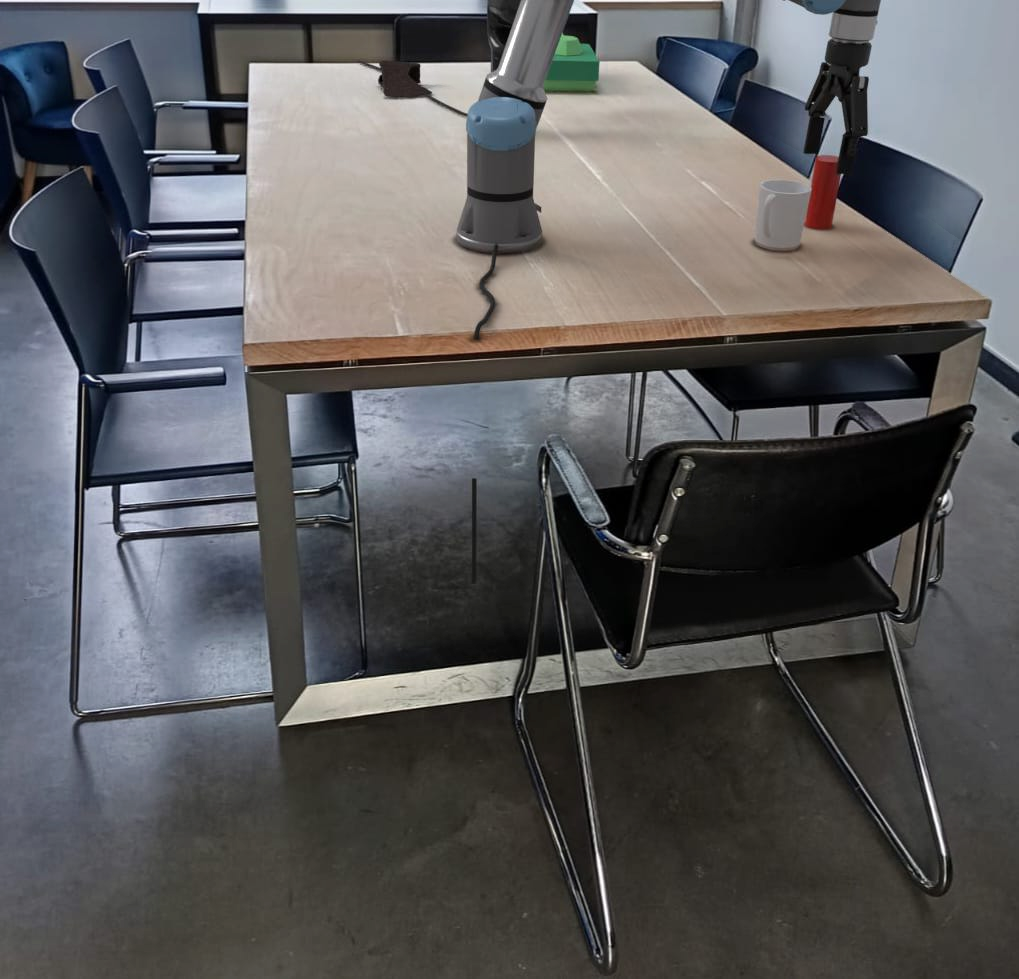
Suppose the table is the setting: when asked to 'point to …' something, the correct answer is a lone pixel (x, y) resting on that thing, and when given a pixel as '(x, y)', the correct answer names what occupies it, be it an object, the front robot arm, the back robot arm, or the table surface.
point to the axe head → (401, 79)
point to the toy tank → (572, 67)
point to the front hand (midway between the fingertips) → (826, 163)
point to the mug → (781, 214)
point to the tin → (823, 193)
